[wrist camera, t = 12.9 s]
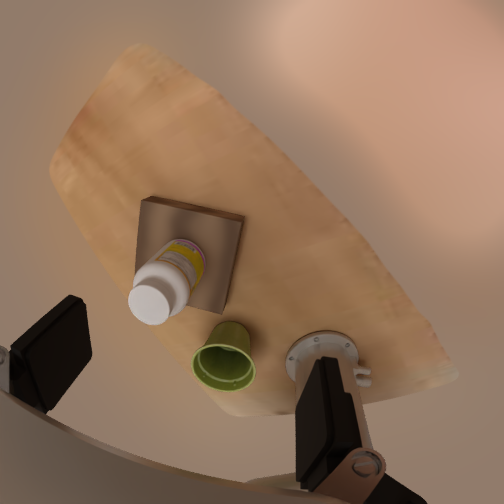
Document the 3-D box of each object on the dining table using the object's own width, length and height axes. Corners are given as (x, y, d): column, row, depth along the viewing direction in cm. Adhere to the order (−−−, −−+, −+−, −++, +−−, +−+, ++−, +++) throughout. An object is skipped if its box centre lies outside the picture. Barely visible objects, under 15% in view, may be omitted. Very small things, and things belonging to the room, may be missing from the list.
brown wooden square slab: (244, 216, 42) (241, 222, 38) (226, 303, 46) (222, 314, 43) (151, 195, 42) (141, 200, 39) (143, 280, 47) (134, 290, 43)
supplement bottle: (172, 287, 42) (137, 337, 30) (154, 246, 41) (108, 285, 28) (214, 275, 41) (189, 326, 29) (196, 231, 39) (160, 268, 27)
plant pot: (266, 320, 47) (263, 354, 39) (252, 363, 50) (246, 398, 42) (209, 305, 47) (195, 336, 39) (200, 349, 50) (187, 382, 42)
